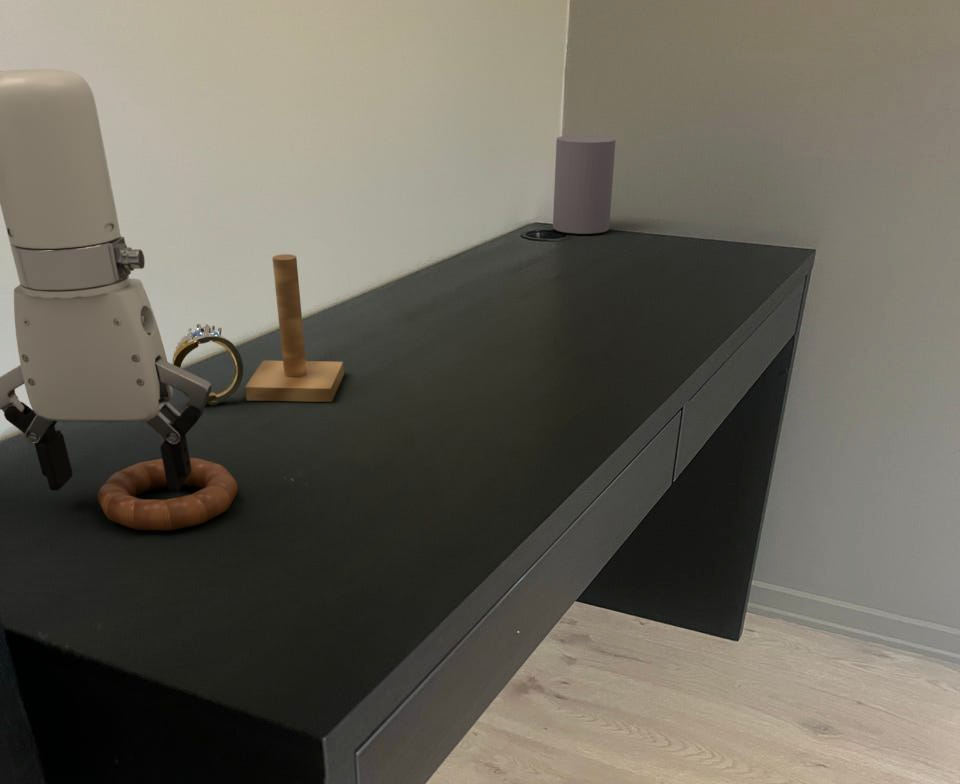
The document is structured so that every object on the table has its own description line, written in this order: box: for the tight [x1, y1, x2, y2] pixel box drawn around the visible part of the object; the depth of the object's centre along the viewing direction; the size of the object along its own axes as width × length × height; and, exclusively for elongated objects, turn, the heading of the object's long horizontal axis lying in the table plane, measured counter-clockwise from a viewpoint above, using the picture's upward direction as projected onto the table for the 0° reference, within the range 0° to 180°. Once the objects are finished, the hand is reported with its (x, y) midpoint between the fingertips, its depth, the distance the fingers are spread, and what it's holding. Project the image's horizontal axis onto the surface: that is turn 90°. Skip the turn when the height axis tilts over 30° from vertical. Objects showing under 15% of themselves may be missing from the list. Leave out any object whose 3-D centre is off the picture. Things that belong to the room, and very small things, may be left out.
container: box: [552, 134, 617, 236], centre depth 177 cm, size 10×10×15 cm
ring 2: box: [171, 323, 244, 406], centre depth 100 cm, size 7×3×8 cm, turn 107°
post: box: [244, 253, 345, 403], centre depth 103 cm, size 9×9×14 cm
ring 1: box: [97, 457, 239, 531], centre depth 81 cm, size 11×11×2 cm
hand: (120, 483), depth 81 cm, fingers open, 9 cm apart
